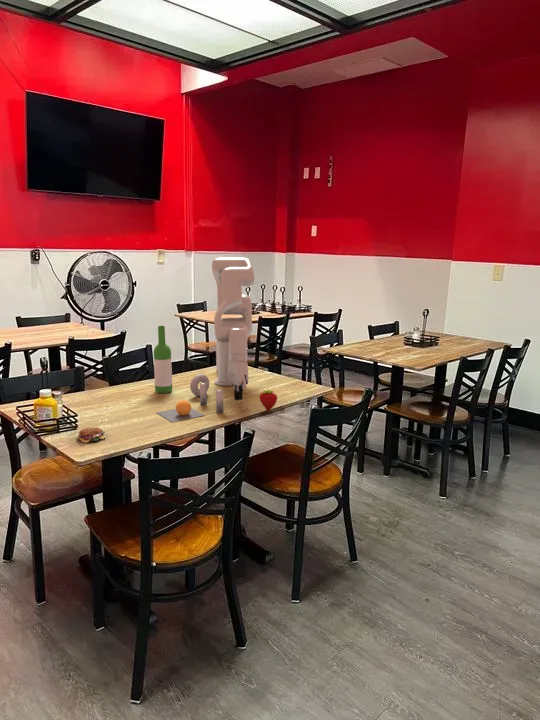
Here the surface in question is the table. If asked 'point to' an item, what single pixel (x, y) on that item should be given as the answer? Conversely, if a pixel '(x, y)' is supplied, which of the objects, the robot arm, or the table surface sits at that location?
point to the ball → (183, 408)
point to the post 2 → (219, 401)
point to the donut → (195, 382)
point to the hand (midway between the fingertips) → (238, 399)
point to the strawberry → (268, 399)
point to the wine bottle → (162, 364)
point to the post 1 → (203, 393)
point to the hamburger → (91, 434)
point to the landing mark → (174, 416)
